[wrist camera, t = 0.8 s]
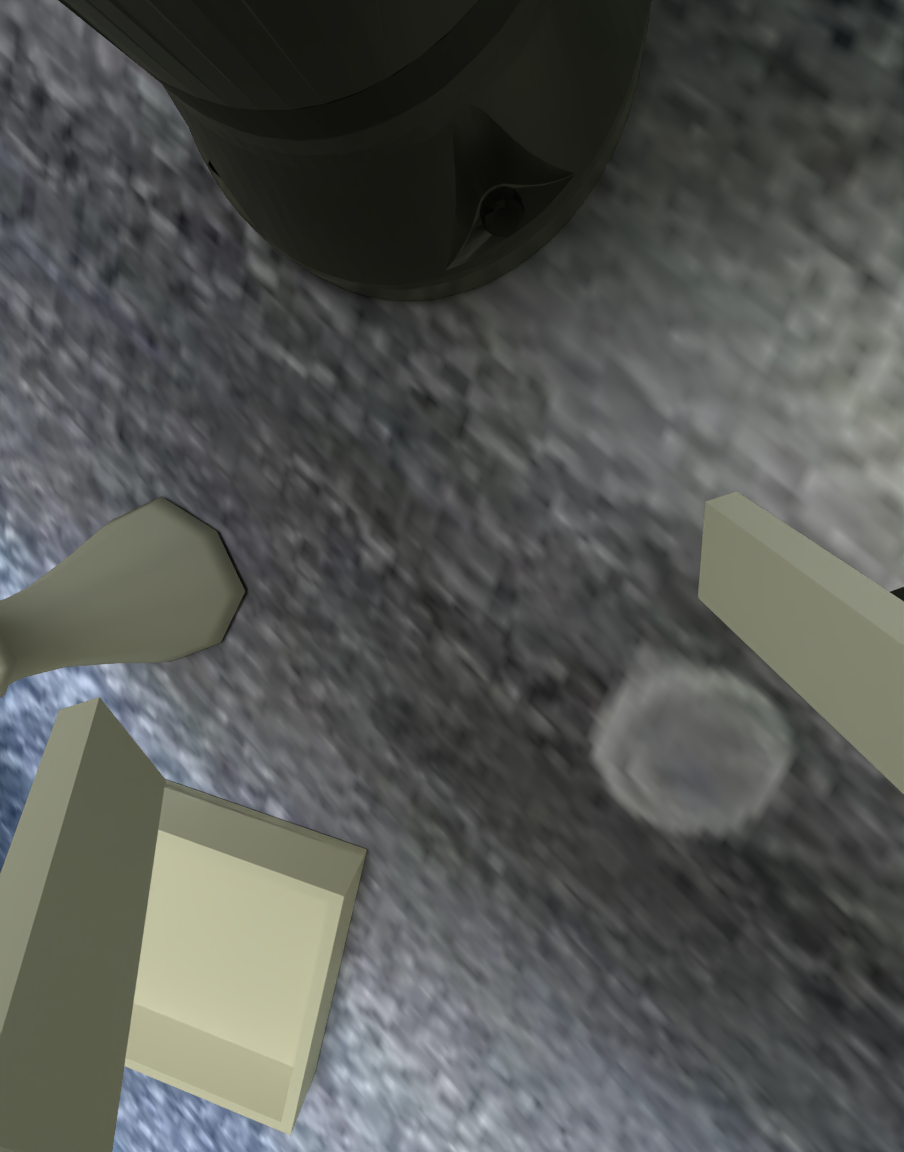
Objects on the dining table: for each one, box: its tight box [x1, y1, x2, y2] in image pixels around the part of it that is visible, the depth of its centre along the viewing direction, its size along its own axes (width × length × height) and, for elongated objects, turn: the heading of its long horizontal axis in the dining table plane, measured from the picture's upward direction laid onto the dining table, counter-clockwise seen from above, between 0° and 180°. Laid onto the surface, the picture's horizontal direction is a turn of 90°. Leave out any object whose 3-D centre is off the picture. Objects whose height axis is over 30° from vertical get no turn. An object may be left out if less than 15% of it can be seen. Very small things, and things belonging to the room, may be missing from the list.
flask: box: [0, 497, 245, 698], centre depth 22 cm, size 7×7×10 cm
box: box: [124, 779, 367, 1135], centre depth 30 cm, size 15×15×3 cm
